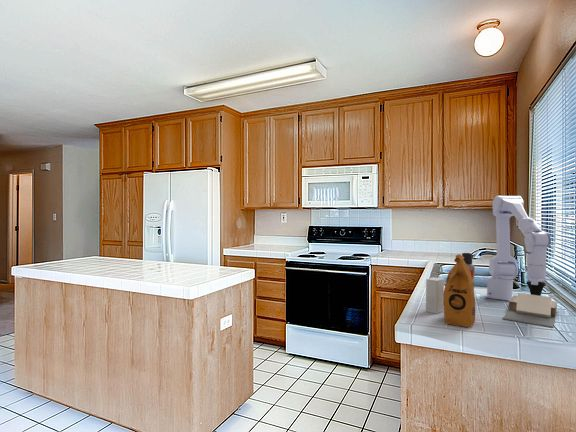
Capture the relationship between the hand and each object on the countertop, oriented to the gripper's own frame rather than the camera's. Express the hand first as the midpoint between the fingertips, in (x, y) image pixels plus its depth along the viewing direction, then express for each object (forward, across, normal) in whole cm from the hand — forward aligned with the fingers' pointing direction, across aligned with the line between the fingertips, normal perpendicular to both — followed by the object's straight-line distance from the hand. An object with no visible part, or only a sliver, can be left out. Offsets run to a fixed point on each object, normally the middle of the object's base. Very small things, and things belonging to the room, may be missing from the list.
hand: (535, 301), depth 133 cm
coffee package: (+4, -31, +19) cm, 37 cm away
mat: (+4, -10, +1) cm, 11 cm away
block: (+1, -3, 0) cm, 3 cm away
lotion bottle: (+4, +3, +24) cm, 25 cm away
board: (+4, +4, +1) cm, 6 cm away
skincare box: (+4, -23, +29) cm, 37 cm away
